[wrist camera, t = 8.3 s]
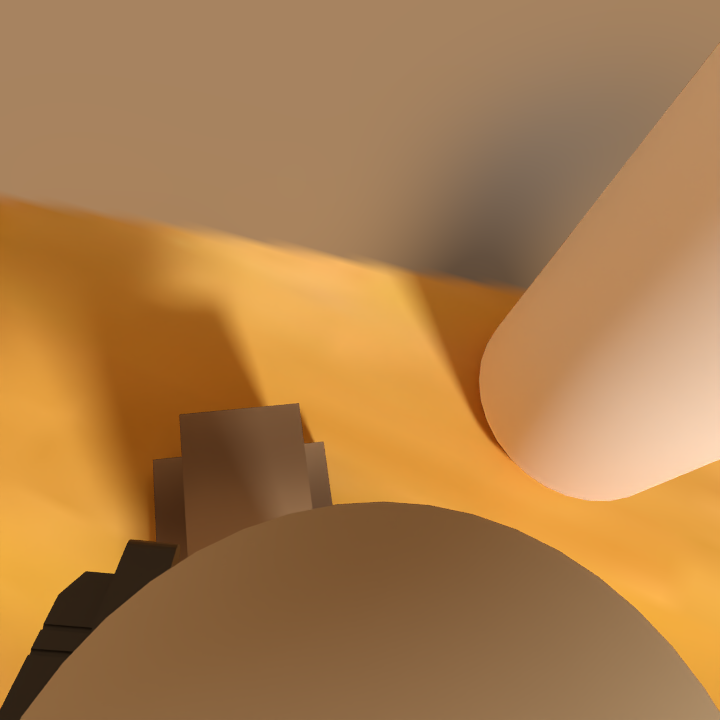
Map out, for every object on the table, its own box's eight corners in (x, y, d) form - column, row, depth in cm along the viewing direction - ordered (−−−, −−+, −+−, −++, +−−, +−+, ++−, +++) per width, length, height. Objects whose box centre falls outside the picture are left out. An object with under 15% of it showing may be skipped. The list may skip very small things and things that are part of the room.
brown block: (157, 470, 25) (134, 418, 20) (319, 452, 26) (339, 399, 21) (182, 1029, 19) (159, 1178, 14) (390, 972, 20) (444, 1087, 15)
